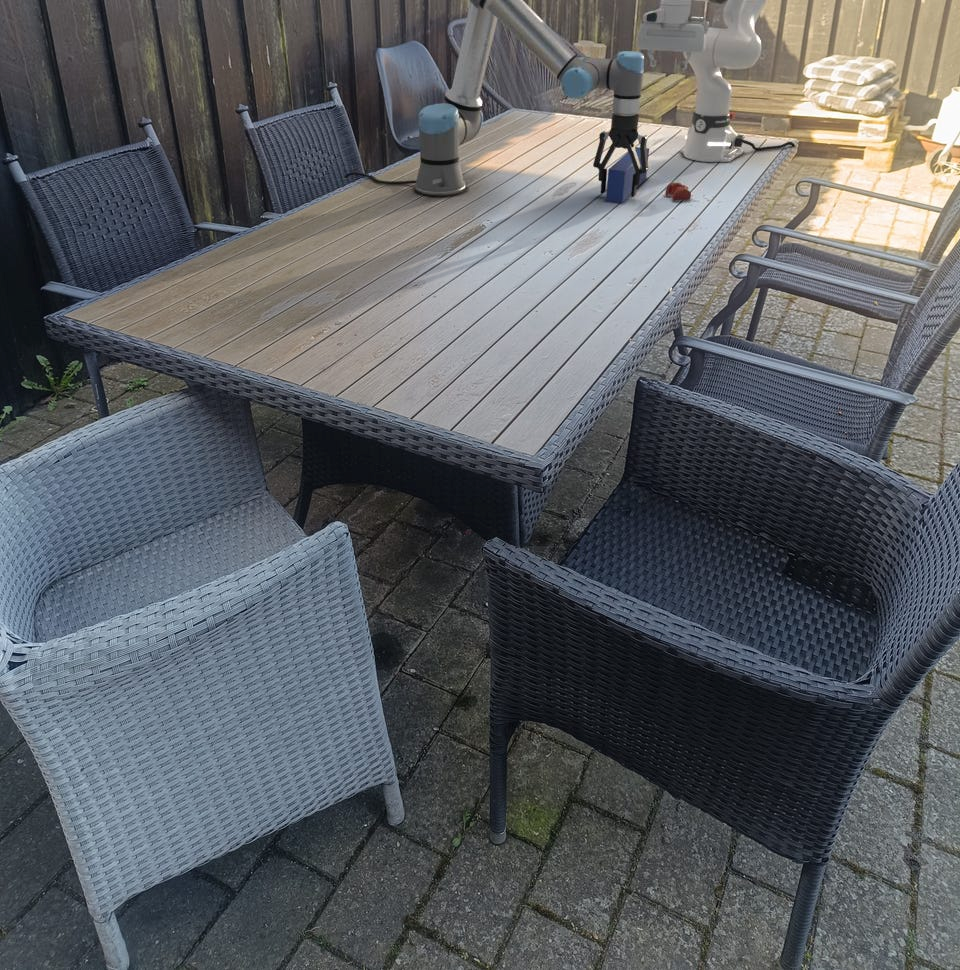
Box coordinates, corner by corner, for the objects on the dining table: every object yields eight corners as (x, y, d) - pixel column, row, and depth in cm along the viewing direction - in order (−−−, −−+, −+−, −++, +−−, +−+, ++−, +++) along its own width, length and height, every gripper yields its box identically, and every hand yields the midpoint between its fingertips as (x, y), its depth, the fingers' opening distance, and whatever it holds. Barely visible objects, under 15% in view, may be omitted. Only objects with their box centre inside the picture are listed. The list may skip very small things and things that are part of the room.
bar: (621, 203, 248) (625, 171, 242) (605, 201, 249) (608, 169, 244) (646, 178, 268) (649, 148, 263) (630, 176, 270) (633, 146, 265)
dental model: (681, 178, 253) (693, 186, 247) (680, 192, 255) (692, 200, 249) (664, 180, 252) (676, 188, 246) (663, 194, 254) (674, 202, 248)
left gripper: (666, 113, 237) (656, 195, 250) (593, 107, 244) (587, 186, 257) (659, 119, 231) (650, 202, 245) (585, 112, 239) (579, 193, 252)
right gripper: (712, 15, 245) (704, 68, 253) (643, 12, 252) (638, 63, 260) (707, 18, 241) (700, 71, 249) (637, 15, 247) (633, 66, 255)
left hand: (618, 194), depth 251 cm, fingers open, 9 cm apart
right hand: (668, 67), depth 254 cm, fingers open, 8 cm apart
